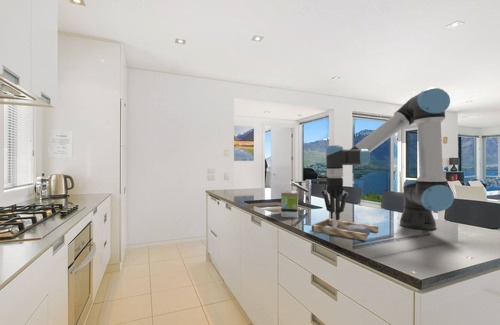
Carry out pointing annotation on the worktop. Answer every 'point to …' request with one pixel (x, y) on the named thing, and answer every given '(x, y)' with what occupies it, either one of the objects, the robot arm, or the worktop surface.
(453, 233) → the worktop surface
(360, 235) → the channel
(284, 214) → the tea box
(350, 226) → the stone block
